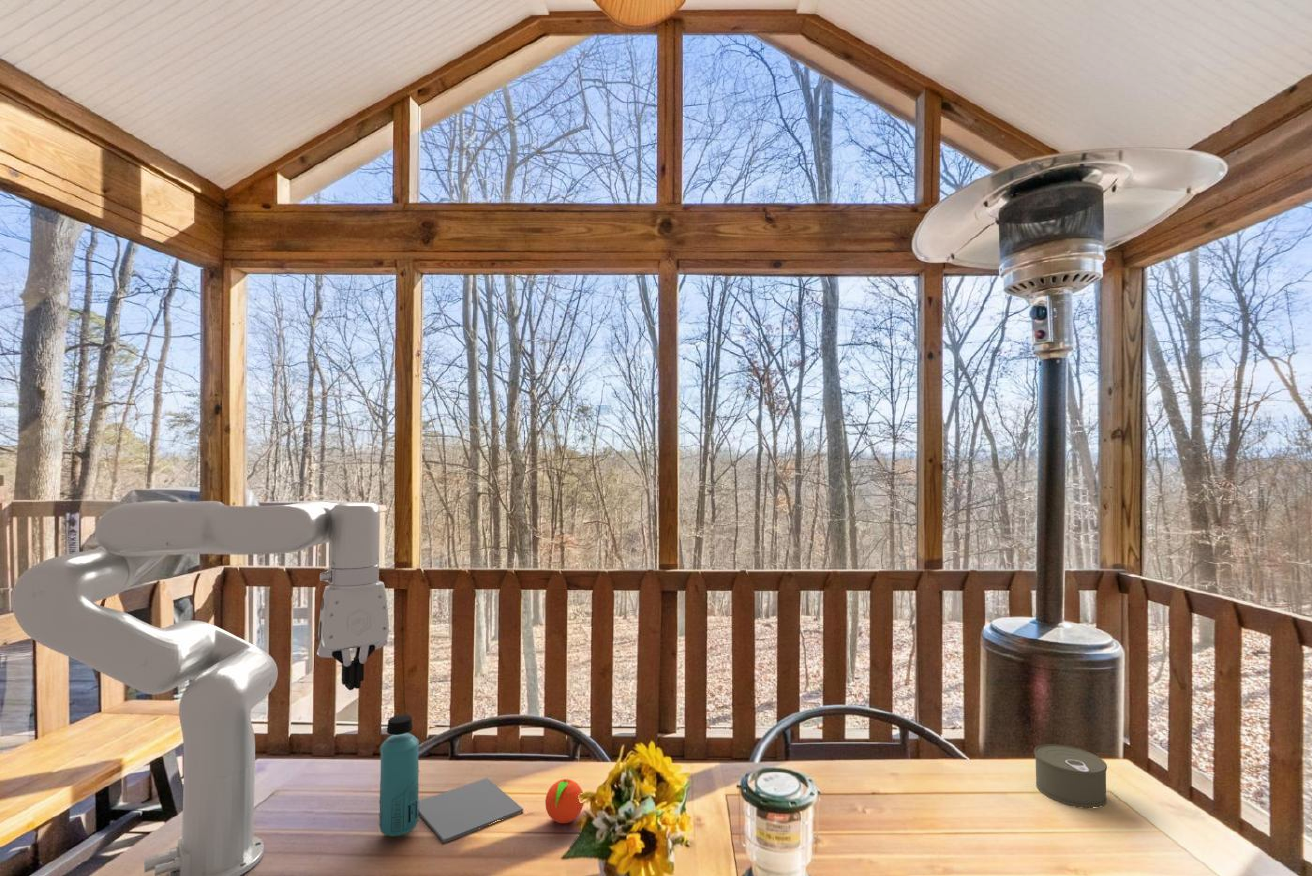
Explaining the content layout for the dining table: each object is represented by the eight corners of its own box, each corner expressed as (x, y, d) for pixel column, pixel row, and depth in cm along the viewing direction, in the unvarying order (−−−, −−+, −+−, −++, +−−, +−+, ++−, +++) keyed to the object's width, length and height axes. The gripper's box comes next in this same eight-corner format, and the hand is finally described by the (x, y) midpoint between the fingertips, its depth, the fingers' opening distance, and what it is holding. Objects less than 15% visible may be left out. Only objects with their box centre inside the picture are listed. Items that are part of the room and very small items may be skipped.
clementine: (574, 837, 111) (575, 795, 111) (536, 832, 112) (537, 790, 112) (588, 812, 119) (589, 773, 119) (553, 808, 120) (553, 769, 120)
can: (1085, 779, 132) (1085, 745, 132) (1121, 811, 120) (1120, 773, 120) (1024, 776, 133) (1023, 742, 133) (1053, 807, 121) (1052, 770, 121)
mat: (443, 843, 109) (443, 839, 109) (412, 806, 120) (412, 803, 120) (523, 812, 118) (523, 808, 118) (487, 780, 130) (487, 777, 130)
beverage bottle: (410, 846, 108) (411, 725, 109) (370, 845, 108) (373, 725, 109) (424, 824, 114) (426, 710, 115) (387, 823, 115) (389, 710, 115)
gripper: (310, 585, 100) (307, 704, 99) (407, 574, 110) (405, 683, 109) (299, 578, 106) (297, 691, 105) (393, 568, 115) (391, 671, 115)
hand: (352, 686), depth 107 cm, fingers closed
